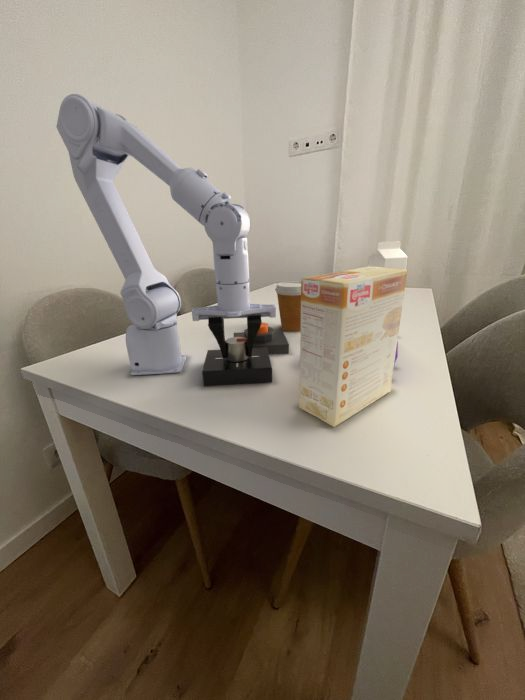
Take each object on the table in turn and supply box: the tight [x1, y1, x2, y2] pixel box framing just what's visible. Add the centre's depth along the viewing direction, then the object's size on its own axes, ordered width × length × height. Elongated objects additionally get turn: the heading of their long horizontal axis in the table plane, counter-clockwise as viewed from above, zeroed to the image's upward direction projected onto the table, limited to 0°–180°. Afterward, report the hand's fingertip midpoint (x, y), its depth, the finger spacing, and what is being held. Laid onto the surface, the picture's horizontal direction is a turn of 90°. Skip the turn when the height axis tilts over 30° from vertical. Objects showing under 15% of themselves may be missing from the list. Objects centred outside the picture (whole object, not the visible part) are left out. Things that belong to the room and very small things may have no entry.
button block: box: [233, 326, 290, 356], centre depth 69 cm, size 12×10×4 cm
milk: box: [367, 240, 409, 270], centre depth 72 cm, size 6×6×22 cm
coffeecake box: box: [298, 266, 408, 428], centre depth 44 cm, size 15×7×20 cm, turn 129°
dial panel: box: [201, 347, 273, 388], centre depth 57 cm, size 12×10×3 cm
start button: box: [257, 322, 269, 334], centre depth 68 cm, size 4×4×2 cm
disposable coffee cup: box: [275, 280, 301, 333], centre depth 81 cm, size 10×10×12 cm
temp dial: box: [225, 337, 248, 362], centre depth 56 cm, size 4×4×4 cm
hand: (237, 355), depth 56 cm, fingers closed on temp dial, 4 cm apart
